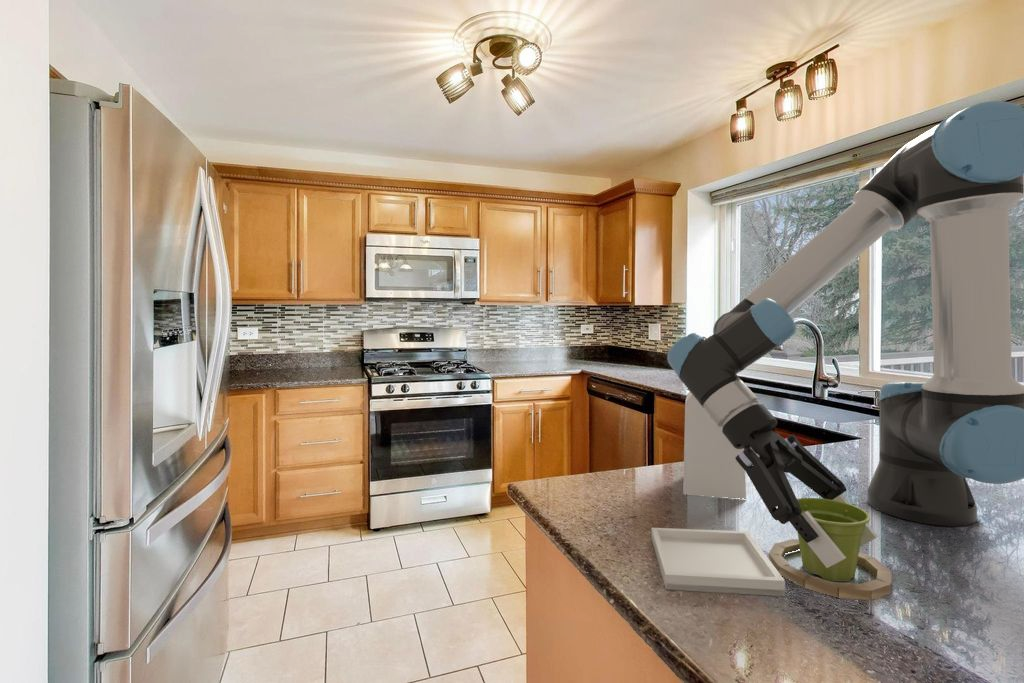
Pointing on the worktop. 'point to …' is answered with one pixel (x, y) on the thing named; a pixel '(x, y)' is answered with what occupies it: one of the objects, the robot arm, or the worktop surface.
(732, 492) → the milk
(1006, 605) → the worktop surface
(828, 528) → the plant pot
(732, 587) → the grey tray
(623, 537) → the worktop surface
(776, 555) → the oak ring
